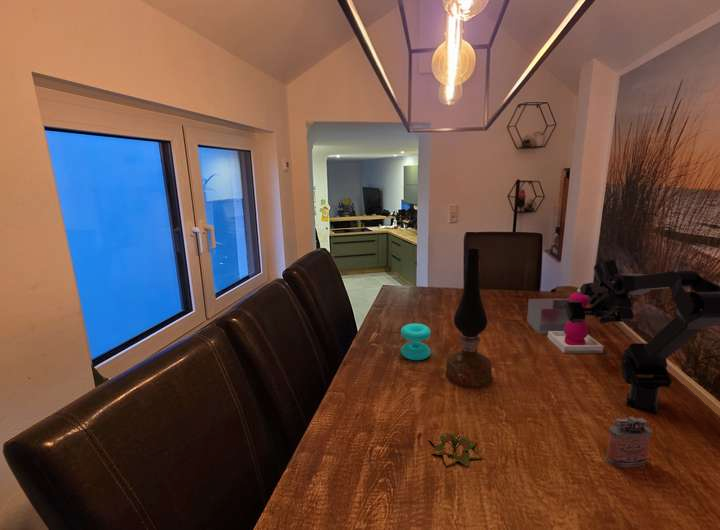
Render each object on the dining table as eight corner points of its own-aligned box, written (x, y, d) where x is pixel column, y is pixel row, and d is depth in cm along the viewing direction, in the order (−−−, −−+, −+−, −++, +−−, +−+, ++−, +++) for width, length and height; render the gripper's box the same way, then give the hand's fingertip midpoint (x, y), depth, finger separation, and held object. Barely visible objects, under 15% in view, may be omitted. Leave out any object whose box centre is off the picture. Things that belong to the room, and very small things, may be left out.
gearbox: (582, 333, 140) (586, 300, 137) (539, 333, 140) (541, 301, 138) (566, 321, 151) (570, 291, 148) (526, 322, 152) (529, 291, 149)
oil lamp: (461, 371, 122) (453, 250, 122) (505, 379, 111) (497, 247, 110) (436, 382, 113) (428, 251, 112) (482, 393, 101) (473, 248, 101)
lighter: (638, 453, 79) (645, 412, 77) (650, 465, 76) (658, 423, 74) (601, 455, 79) (607, 414, 77) (612, 467, 76) (618, 425, 74)
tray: (602, 353, 124) (603, 346, 123) (564, 353, 125) (564, 346, 124) (582, 337, 136) (583, 331, 136) (547, 337, 137) (548, 331, 136)
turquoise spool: (434, 332, 120) (403, 334, 119) (433, 360, 122) (404, 362, 122) (426, 321, 130) (398, 323, 129) (426, 347, 132) (398, 349, 131)
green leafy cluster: (442, 477, 75) (442, 458, 74) (418, 439, 87) (418, 422, 86) (494, 465, 78) (495, 446, 77) (464, 429, 89) (465, 412, 88)
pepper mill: (583, 349, 125) (589, 293, 120) (559, 343, 130) (565, 289, 125) (589, 342, 130) (595, 288, 125) (566, 337, 135) (571, 284, 130)
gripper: (633, 276, 113) (607, 299, 126) (570, 277, 114) (551, 300, 127) (647, 309, 107) (619, 330, 120) (581, 310, 108) (559, 330, 121)
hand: (586, 321), depth 122 cm, fingers open, 9 cm apart
